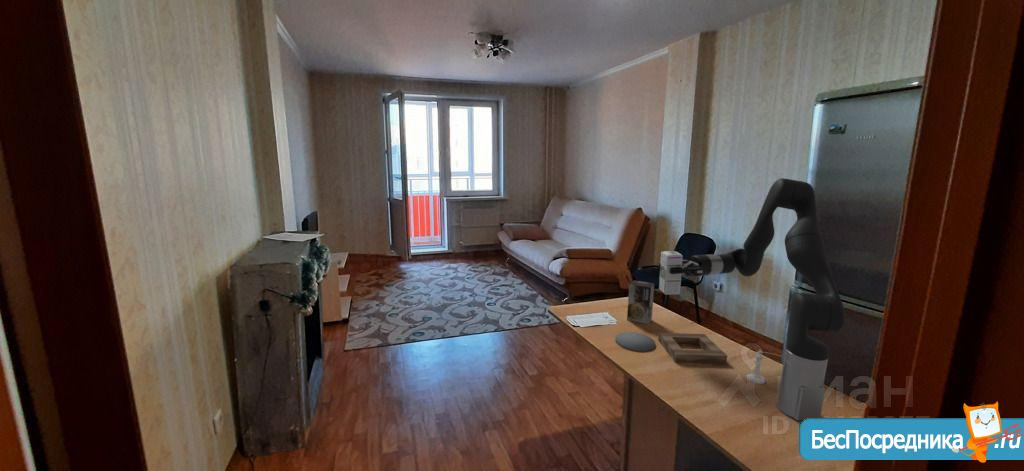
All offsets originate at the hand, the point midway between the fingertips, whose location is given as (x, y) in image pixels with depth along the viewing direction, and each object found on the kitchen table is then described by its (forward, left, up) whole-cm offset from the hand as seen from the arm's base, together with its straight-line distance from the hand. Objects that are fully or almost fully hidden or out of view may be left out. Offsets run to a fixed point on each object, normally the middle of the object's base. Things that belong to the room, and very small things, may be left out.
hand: (664, 268), depth 145 cm
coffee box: (+24, 0, -29) cm, 38 cm away
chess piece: (-22, -23, -29) cm, 44 cm away
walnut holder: (-4, -10, -29) cm, 31 cm away
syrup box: (+1, -3, -9) cm, 10 cm away
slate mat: (+2, +8, -29) cm, 30 cm away
